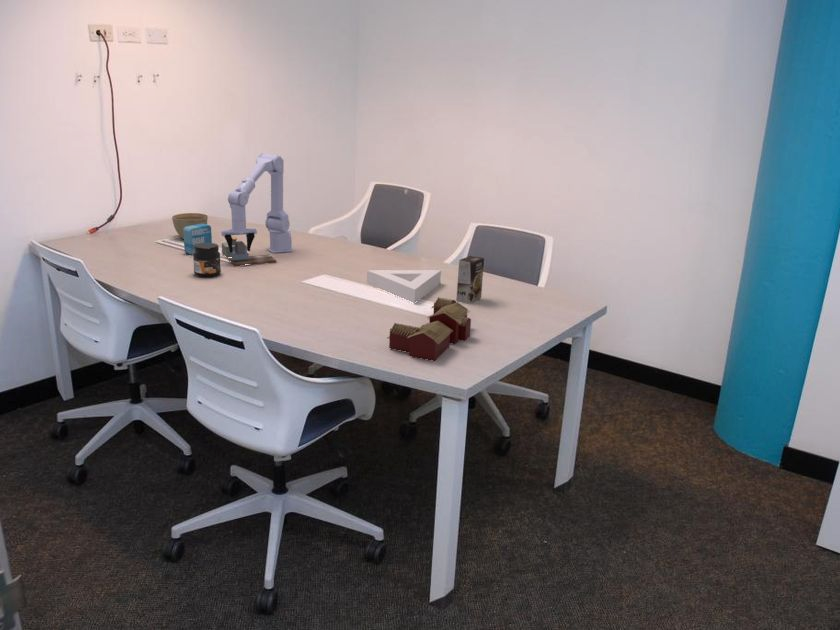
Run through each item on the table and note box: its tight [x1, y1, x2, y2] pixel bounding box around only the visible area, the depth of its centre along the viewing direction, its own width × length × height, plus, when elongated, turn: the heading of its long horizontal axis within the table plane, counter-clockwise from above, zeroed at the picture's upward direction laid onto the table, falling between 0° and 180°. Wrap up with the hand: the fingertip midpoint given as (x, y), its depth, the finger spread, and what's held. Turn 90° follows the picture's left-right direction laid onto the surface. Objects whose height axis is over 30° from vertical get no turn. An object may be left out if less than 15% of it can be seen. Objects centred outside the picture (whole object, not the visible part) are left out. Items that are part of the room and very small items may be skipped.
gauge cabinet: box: [221, 242, 248, 258], centre depth 328 cm, size 9×8×5 cm
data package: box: [183, 224, 213, 256], centre depth 329 cm, size 12×4×12 cm, turn 147°
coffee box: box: [455, 255, 485, 305], centre depth 280 cm, size 9×6×16 cm
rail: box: [228, 254, 277, 267], centre depth 320 cm, size 18×10×2 cm, turn 118°
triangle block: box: [366, 269, 442, 304], centre depth 291 cm, size 30×26×6 cm
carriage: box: [231, 240, 250, 261], centre depth 316 cm, size 6×6×7 cm
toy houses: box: [386, 297, 472, 362], centre depth 245 cm, size 45×20×10 cm, turn 158°
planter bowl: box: [171, 212, 209, 240], centre depth 352 cm, size 16×16×11 cm
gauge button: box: [231, 236, 238, 245], centre depth 327 cm, size 3×3×5 cm
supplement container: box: [192, 242, 222, 278], centre depth 297 cm, size 10×10×12 cm
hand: (239, 251), depth 316 cm, fingers open, 7 cm apart
